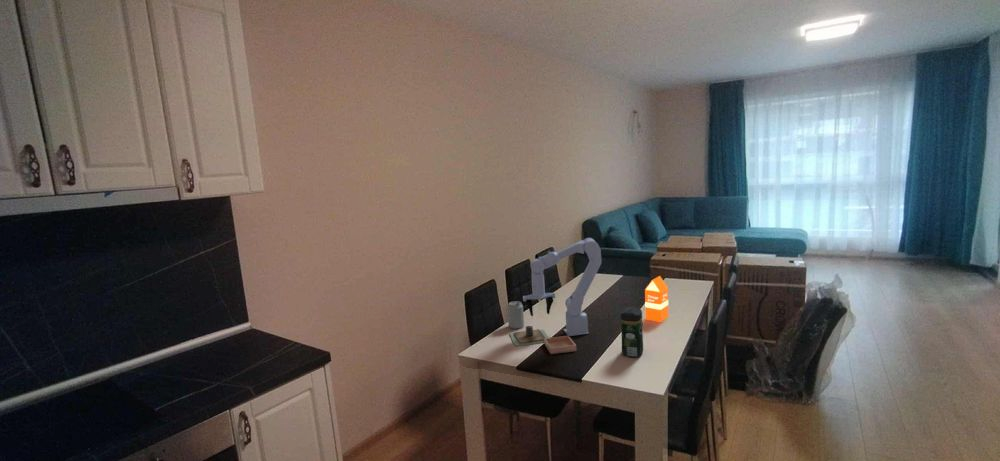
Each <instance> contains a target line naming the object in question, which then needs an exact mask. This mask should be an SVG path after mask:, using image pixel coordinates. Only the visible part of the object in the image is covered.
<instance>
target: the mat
mask: <svg viewBox="0 0 1000 461" xmlns="http://www.w3.org/2000/svg"><path fill="white" fill-rule="evenodd" d="M539 330H540V331H541V332H542V334H543V335H544V336H545V337H546V338H550V337H549V335H548V334H547V333H546V332H545V330H544V329H539ZM514 333H515V332H511V333H509V336H510V338H511V340H512V342H513V345H514V347H521V346H528V345H536V344H544V341H539V342H532V343H525V344H520V343H519V342H518V340H517V338H516V337H515V335H514Z"/></svg>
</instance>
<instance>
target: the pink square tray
mask: <svg viewBox="0 0 1000 461" xmlns="http://www.w3.org/2000/svg"><path fill="white" fill-rule="evenodd" d="M544 344H545V345H544ZM543 345H544V346H545V348H546V350H547V351H548V352H549V354H550V355H557V354H562V353H563V354H565V353H572V352H577V344H576V343H575V342H574V341H573V339H572V338H571V336H568V335H562V336H555V337H554V336H553V337H549V338H545V339H544V343H543Z"/></svg>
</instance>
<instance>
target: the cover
mask: <svg viewBox="0 0 1000 461" xmlns="http://www.w3.org/2000/svg"><path fill="white" fill-rule="evenodd" d="M540 330H541V329H539V328H538V329H537V328H536V329H534V328H533V325H526V326H525V330H523V331H517V332H516V331H515V332H513V333H514V335H515V337H516V338H517V340H518V342H519V343H520V344H525V343H532V342H539V341H544V339H545V338H546V337H545V336H544V335H543V334H542V332H541V331H540Z"/></svg>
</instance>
